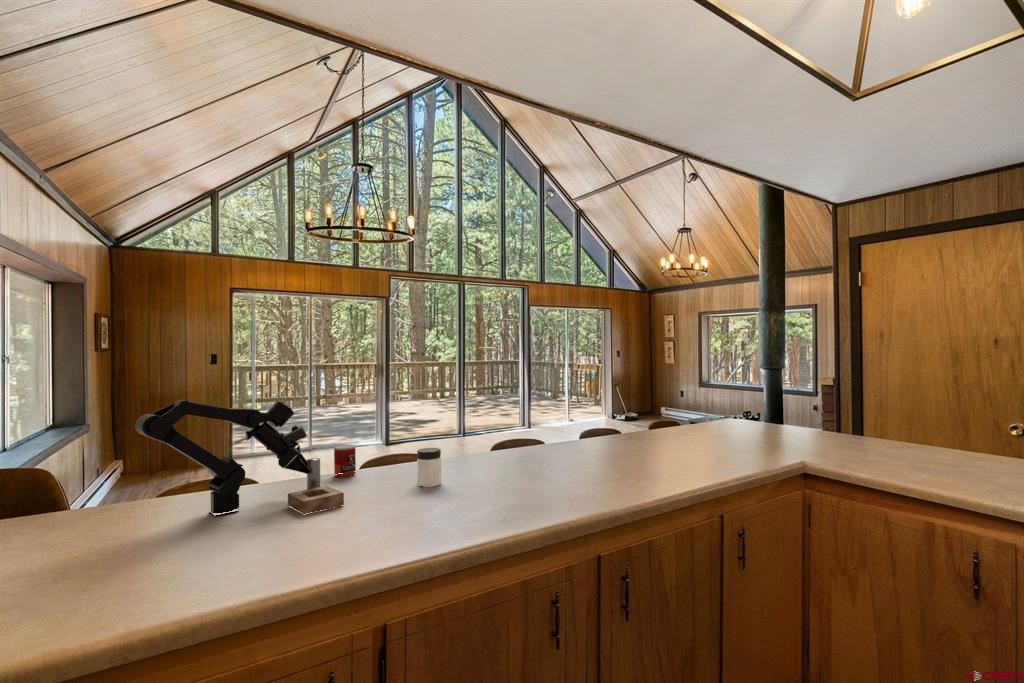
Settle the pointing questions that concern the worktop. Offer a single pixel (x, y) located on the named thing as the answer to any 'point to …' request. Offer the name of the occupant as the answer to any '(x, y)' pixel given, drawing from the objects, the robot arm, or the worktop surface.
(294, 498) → the wooden socket block
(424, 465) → the jar
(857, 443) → the worktop surface
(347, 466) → the canned food
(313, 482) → the grey upright bar
